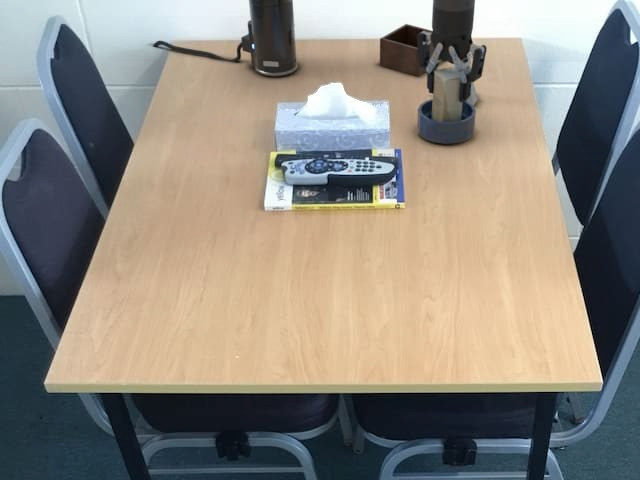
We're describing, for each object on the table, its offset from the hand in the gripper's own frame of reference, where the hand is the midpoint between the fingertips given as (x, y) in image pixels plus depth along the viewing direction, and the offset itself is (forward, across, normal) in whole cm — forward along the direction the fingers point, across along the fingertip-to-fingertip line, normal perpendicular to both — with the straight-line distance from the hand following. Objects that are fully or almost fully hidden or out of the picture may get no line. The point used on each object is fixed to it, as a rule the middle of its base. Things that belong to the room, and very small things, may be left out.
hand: (448, 96), depth 166 cm
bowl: (+7, 0, 0) cm, 7 cm away
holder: (+7, +24, -24) cm, 35 cm away
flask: (+7, +5, -14) cm, 17 cm away
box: (+7, 0, 0) cm, 7 cm away
